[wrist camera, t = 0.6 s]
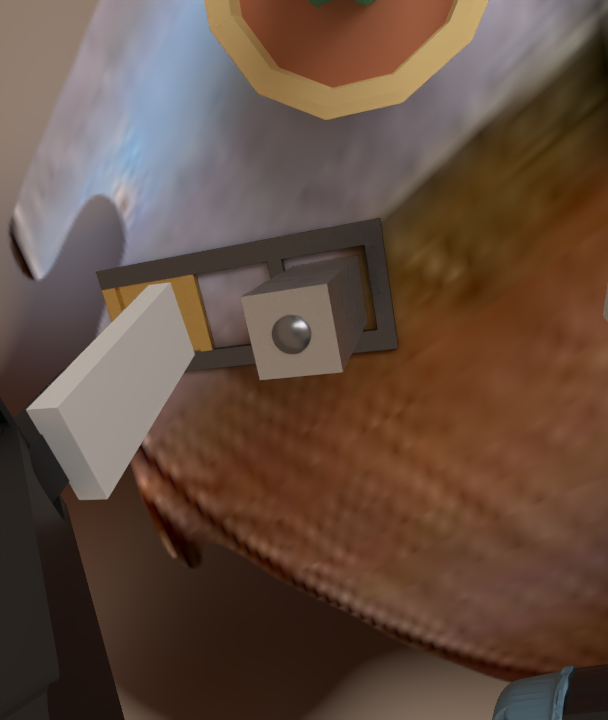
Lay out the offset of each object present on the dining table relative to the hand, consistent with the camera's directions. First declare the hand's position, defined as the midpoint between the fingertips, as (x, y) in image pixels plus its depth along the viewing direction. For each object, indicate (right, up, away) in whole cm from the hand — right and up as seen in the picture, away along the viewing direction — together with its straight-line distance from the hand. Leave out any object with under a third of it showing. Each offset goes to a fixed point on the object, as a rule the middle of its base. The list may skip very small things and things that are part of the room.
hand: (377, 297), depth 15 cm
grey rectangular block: (0, +3, +22) cm, 22 cm away
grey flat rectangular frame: (-7, +2, +24) cm, 26 cm away
